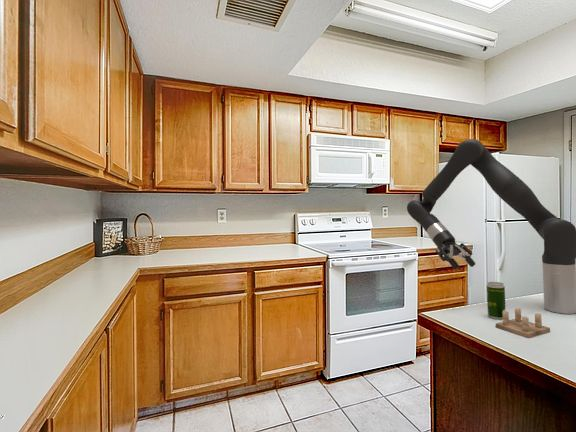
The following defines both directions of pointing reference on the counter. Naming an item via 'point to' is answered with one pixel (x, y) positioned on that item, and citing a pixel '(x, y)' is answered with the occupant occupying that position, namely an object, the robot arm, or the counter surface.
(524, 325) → the dowel holder
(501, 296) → the beer can
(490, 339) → the counter surface
